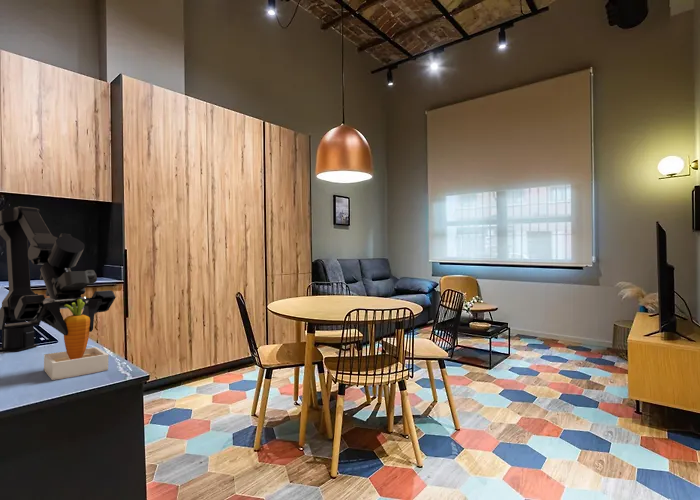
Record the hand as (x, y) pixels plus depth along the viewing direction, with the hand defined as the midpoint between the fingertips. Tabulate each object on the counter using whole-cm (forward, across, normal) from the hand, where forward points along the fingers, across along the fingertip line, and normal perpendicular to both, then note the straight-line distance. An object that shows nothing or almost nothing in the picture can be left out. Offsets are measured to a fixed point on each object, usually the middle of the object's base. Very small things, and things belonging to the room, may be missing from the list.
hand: (79, 332), depth 86 cm
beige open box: (+6, 0, +7) cm, 9 cm away
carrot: (+4, 0, +6) cm, 8 cm away
